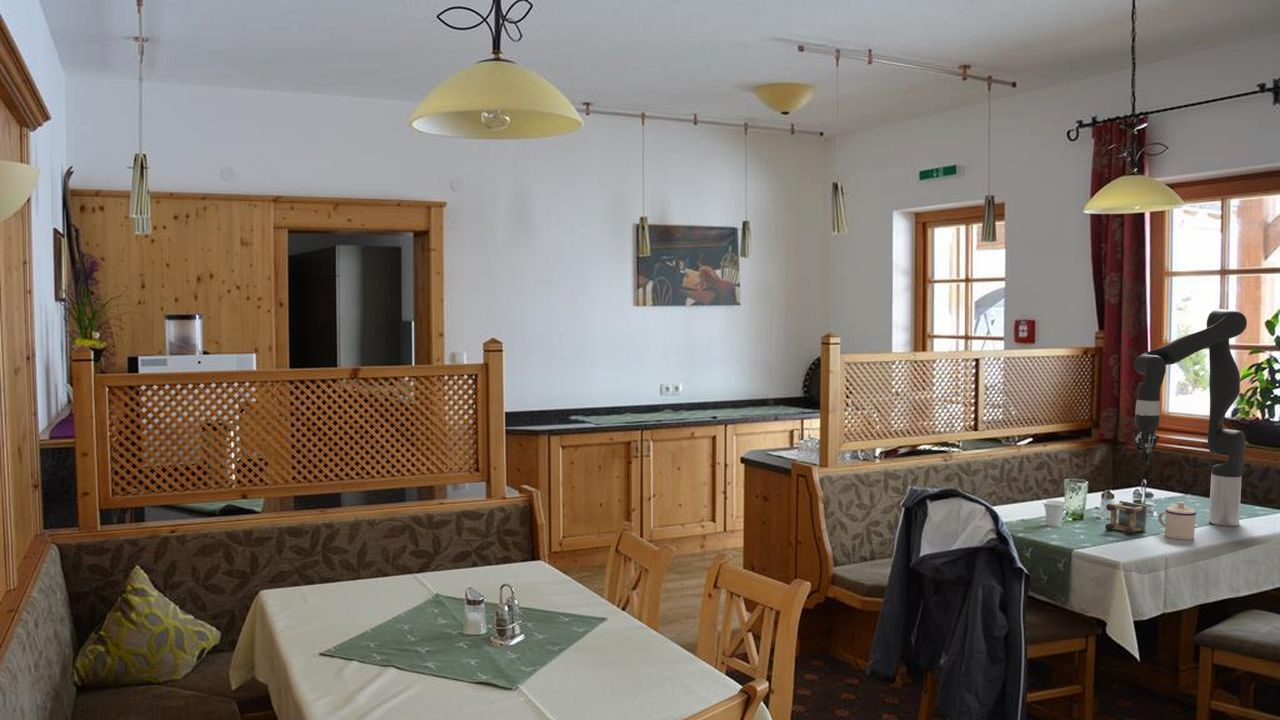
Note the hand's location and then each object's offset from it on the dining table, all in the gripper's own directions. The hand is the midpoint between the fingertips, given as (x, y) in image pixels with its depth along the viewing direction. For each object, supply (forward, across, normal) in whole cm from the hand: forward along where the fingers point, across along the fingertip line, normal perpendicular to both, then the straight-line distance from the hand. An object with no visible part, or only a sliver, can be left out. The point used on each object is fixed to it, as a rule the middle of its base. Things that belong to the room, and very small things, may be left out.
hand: (1145, 463), depth 352 cm
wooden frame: (+22, +11, 0) cm, 25 cm away
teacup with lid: (+22, +3, +13) cm, 26 cm away
